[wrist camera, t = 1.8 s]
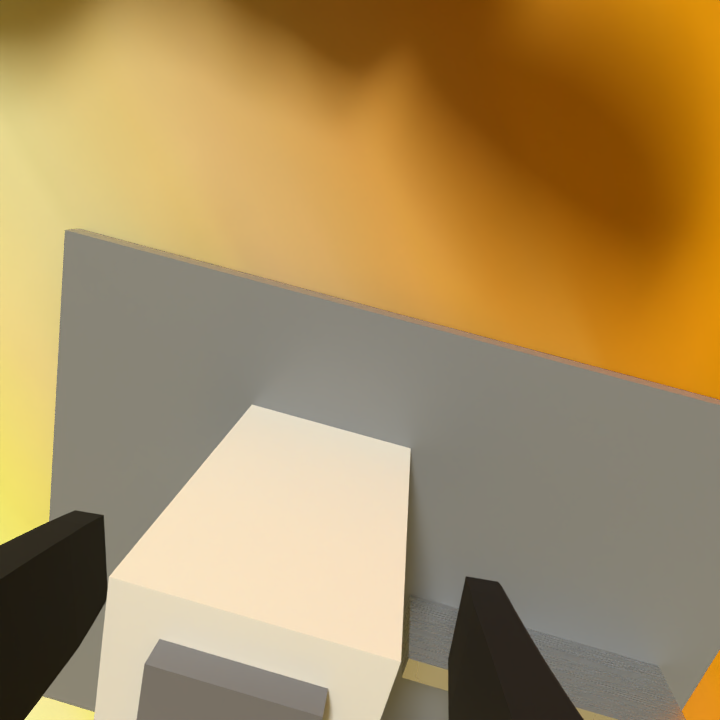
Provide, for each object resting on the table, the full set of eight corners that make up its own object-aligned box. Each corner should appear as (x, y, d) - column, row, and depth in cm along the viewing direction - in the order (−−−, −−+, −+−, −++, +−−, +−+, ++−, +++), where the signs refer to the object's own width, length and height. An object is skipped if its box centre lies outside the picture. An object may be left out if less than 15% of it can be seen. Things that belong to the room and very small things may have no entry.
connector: (410, 448, 12) (400, 689, 6) (370, 578, 14) (328, 884, 8) (251, 404, 12) (90, 599, 6) (226, 537, 14) (72, 803, 8)
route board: (832, 430, 12) (913, 475, 10) (582, 841, 16) (604, 926, 14) (79, 228, 12) (15, 234, 10) (50, 681, 17) (3, 742, 15)
